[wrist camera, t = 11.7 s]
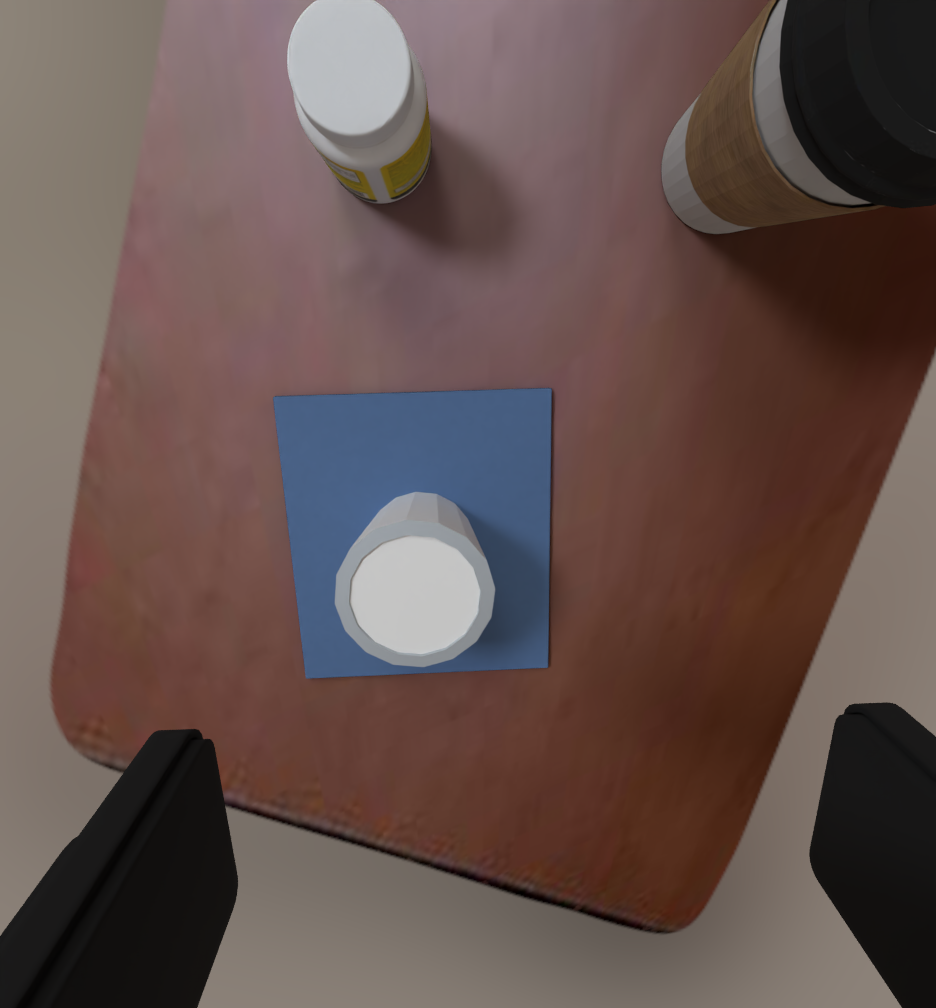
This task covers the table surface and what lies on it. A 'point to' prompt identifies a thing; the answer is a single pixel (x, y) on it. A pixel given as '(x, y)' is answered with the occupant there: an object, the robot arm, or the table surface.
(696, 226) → the coffee cup
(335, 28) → the supplement bottle
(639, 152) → the table surface
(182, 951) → the robot arm
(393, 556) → the white cup
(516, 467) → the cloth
